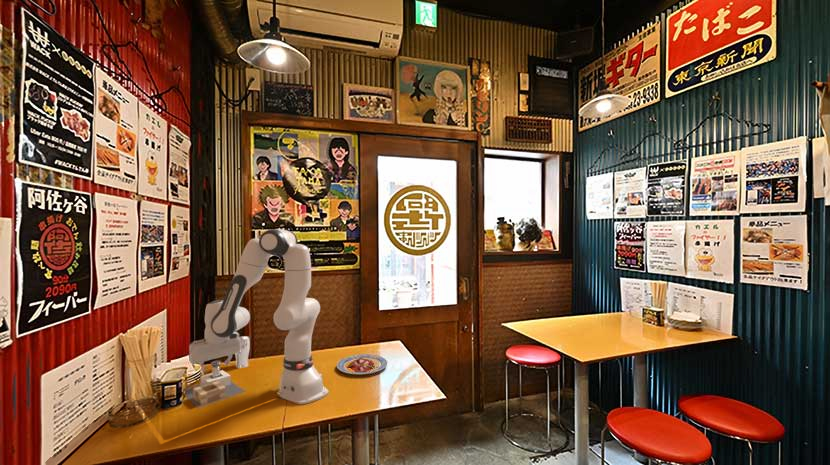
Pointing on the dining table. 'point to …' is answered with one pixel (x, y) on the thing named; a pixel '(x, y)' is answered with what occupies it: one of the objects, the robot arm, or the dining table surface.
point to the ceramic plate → (361, 364)
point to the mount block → (209, 392)
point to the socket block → (217, 379)
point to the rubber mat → (230, 391)
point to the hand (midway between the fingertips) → (215, 367)
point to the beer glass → (243, 352)
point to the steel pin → (215, 369)
